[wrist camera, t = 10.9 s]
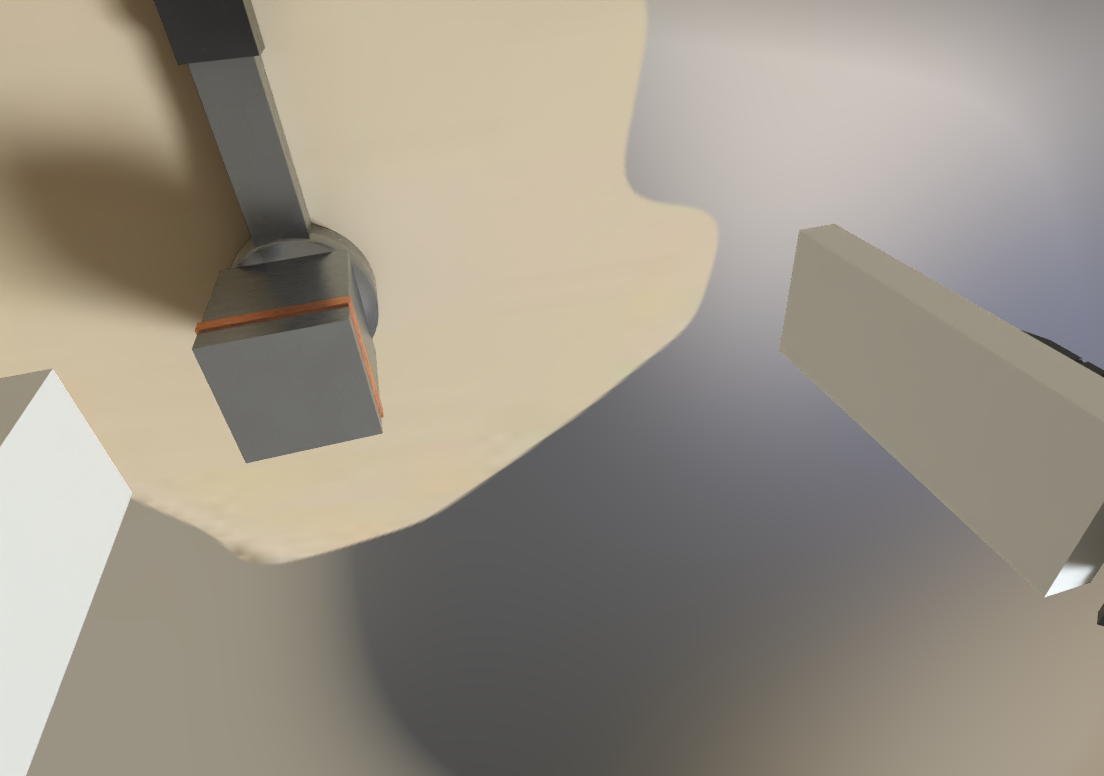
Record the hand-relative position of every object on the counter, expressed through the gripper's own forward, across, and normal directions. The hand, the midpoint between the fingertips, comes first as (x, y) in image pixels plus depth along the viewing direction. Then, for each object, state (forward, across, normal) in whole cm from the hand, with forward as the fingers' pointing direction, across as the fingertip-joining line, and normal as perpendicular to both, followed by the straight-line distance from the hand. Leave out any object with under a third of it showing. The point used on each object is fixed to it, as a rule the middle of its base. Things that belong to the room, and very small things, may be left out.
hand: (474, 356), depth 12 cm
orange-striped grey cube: (+24, -7, -10) cm, 27 cm away
